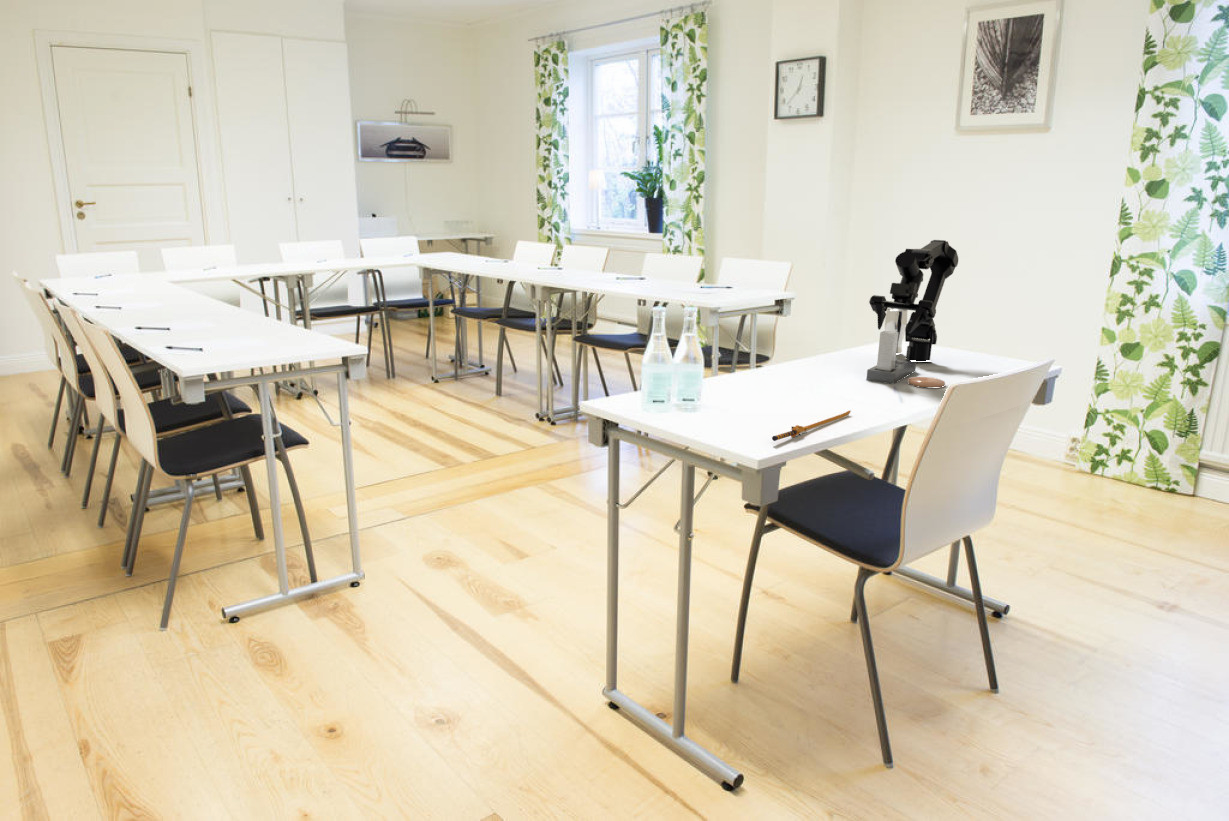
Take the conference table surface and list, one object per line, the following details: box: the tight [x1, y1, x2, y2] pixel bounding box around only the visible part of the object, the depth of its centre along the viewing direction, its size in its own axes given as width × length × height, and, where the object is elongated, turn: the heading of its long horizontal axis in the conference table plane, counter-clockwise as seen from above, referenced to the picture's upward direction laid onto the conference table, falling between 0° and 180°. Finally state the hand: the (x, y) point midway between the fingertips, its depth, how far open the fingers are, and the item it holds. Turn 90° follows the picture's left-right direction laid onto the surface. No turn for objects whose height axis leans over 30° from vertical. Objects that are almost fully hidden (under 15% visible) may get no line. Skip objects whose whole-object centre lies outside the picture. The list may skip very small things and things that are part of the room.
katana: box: [771, 410, 852, 442], centre depth 200 cm, size 1×35×3 cm, turn 138°
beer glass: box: [884, 308, 909, 353], centre depth 287 cm, size 7×7×15 cm
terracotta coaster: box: [907, 376, 946, 388], centre depth 246 cm, size 10×10×1 cm
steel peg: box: [876, 330, 899, 372], centre depth 249 cm, size 4×4×14 cm
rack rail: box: [866, 359, 917, 384], centre depth 256 cm, size 20×8×3 cm, turn 145°
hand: (893, 330), depth 254 cm, fingers open, 9 cm apart
